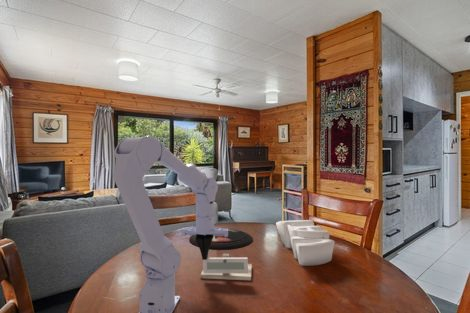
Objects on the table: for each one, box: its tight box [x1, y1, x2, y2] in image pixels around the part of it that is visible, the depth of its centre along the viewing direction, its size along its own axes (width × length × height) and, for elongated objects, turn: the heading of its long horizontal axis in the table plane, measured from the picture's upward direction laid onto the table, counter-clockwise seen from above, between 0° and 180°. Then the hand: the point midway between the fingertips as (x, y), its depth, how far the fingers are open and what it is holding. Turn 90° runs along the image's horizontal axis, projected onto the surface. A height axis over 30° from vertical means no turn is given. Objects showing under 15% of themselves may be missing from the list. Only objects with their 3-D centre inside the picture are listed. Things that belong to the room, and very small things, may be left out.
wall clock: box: [188, 227, 254, 251], centre depth 113 cm, size 26×5×30 cm
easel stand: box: [200, 253, 253, 281], centre depth 80 cm, size 9×16×7 cm, turn 85°
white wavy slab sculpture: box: [275, 219, 336, 267], centre depth 98 cm, size 35×16×11 cm, turn 2°
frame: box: [202, 256, 249, 273], centre depth 75 cm, size 2×14×4 cm, turn 85°
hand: (205, 258), depth 76 cm, fingers closed, pressing on frame
